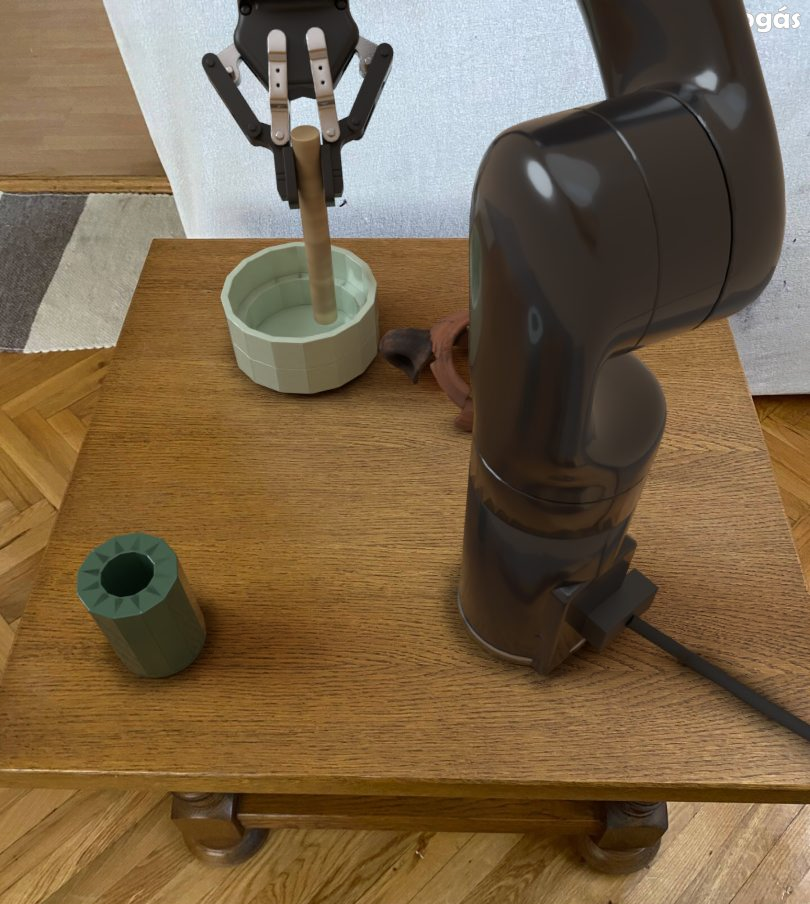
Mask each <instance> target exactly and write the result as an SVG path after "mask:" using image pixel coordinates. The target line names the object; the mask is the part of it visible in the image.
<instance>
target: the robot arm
mask: <svg viewBox="0 0 810 904" xmlns="http://www.w3.org/2000/svg"><path fill="white" fill-rule="evenodd" d="M574 1H575V4H576V6H577V8H578V11H579V12H580V15H581V18H582V20H583V24H584V27H585V29H586V30H585V31H586V33H587V35H588V39H589V41H590V44H591V49H592V51H593V55H594V58H595V61H596V65H597V68H598V72H599V76H600V79H601V84H602V87H603V91H604V96H605V99H604V100H603V99H602V100H599V101H596V102H592V103H589V104H584V105H580V106H576V107H572V108H568V109H564V110H561V111H557V112H553V113H550V114H546V115H542V116H538V117H535V118H531V119H527V120H524V121H521V122H518V123H517V124H514V125H512V126H509V127H506V128H504V130H502V131H501V132H500V133H499V134H497V135H496V136H495V137H494V138H493V139H492V140H491V142H490V143H489V145H488V147H487V148H486V150H485V152H484V154H483V155H482V157H481V159H480V162H479V165H478V167H477V170H476V174H475V177H474V182H473V186H472V191H471V198H470V209H469V216H468V217H469V218H468V219H469V221H468V311H469V326H468V328H469V337H468V348H467V352H468V353H467V364H468V373H469V375H468V376H469V382H470V387H471V397H472V398H473V406H474V418H473V429H472V430H471V441H470V443H471V444H470V452H469V453H470V454H469V464H468V474H467V475H468V476H467V488H466V502H465V512H464V513H465V514H464V525H463V536H462V547H461V549H462V550H461V558H460V559H461V561H460V574H459V575H460V576H459V579H458V580H459V581H458V584H457V593H456V604H457V605H456V606H457V607H456V608H457V611H458V616H459V619H460V621H461V624H462V626H463V628H464V630H465V631H466V633H467V634H468V635H469V637H470V638H471V639H472V641H473V642H474V643H475V644H476V645H478V646H479V647H480V648H481V649H483V650H484V651H485V652H487V653H488V654H490V655H491V656H493V657H495V658H497V659H499V660H502V661H504V662H507V663H511V664H515V665H522V666H529V667H532V668H533V669H535V670H536V671H537V673H539V674H540V675H541V676H548V675H549V674H550V673H552V672H553V671H554V670H555V669H556V668H557V667H559V666H560V664H562V663H563V662H564V661H565V660H566V659H567V658H569V657H570V656H572V655H574V654H575V653H576V652H577V651H578V650H580V649H581V648H582V647H583V646H584V645H585V644H586V643H589V644H590V645H591V646H592V647H593V648H594V649H596V650H597V652H601V651H603V650H604V649H605V648H606V647H607V646H608V645H609V644H610V643H612V642H614V640H615V639H617V637H619V636H620V635H621V634H622V633H623V632H624V631H625V630H627V629H629V630H631V631H632V632H634V633H635V634H636V635H639V636H640V637H642V638H643V639H645V640H647V642H650V643H651V644H653V645H655V646H656V647H658V648H659V649H661V650H663V651H664V652H665V653H666V654H669V655H670V656H672V657H673V658H676V660H678V661H680V662H681V663H683V664H684V665H686V666H688V667H689V668H691V669H692V670H694V671H695V672H697V673H699V674H700V675H701V676H703V677H705V678H706V679H708V680H710V681H712V682H713V683H715V684H717V685H718V686H719V687H722V688H723V689H724V690H726V691H728V692H729V693H730V694H732V695H734V696H735V697H736V698H738V699H739V700H740V701H743V702H744V703H745V704H747V705H748V706H750V707H752V708H753V709H755V710H756V711H758V712H760V713H761V714H763V715H764V716H766V717H767V718H769V719H771V720H773V721H774V722H776V723H777V724H779V725H781V726H782V727H784V728H786V729H787V730H789V731H791V732H793V733H794V734H796V735H798V736H799V737H801V738H802V739H805V740H806V741H808V742H810V723H808V722H806V721H805V720H803V719H801V718H799V717H797V716H796V715H794V714H792V713H791V712H789V711H787V710H786V709H784V708H782V707H781V706H780V705H778V704H776V703H774V702H773V701H771V700H770V699H767V697H764V696H763V695H761V694H760V693H758V692H756V691H754V690H753V689H751V688H750V687H749V686H747V685H746V684H743V683H742V682H740V681H739V680H737V679H735V678H734V677H733V676H731V675H729V674H728V673H726V672H725V671H723V670H721V669H720V668H718V667H716V666H715V665H713V664H712V663H710V662H709V661H707V660H706V659H704V658H703V657H701V656H700V655H698V654H696V653H695V652H693V651H692V650H690V649H688V648H687V647H685V646H684V645H683V644H681V643H680V642H678V641H677V640H675V639H674V638H672V637H671V636H669V635H667V634H666V633H664V632H663V631H661V630H659V629H658V628H656V627H654V626H653V625H652V624H650V623H649V622H647V621H645V620H643V619H642V618H640V617H641V616H642V615H644V613H646V612H647V611H648V610H649V609H650V608H651V606H652V604H653V602H654V600H655V598H656V596H657V594H658V591H659V589H660V588H659V586H658V585H656V583H654V582H653V581H652V580H651V579H650V578H648V577H647V576H646V575H645V574H643V573H642V572H641V571H639V570H638V569H637V568H636V567H634V568H633V569H631V570H630V571H629V569H630V566H631V564H632V561H633V559H634V556H635V554H636V551H637V549H638V542H637V540H636V539H635V538H633V537H632V536H631V535H629V534H628V531H629V529H630V526H631V524H632V520H633V517H634V515H635V511H636V510H637V507H638V505H639V501H640V499H641V496H642V493H643V490H644V489H645V486H646V483H647V481H648V477H649V474H650V472H651V469H652V466H653V464H654V462H655V460H656V457H657V455H658V452H659V449H660V446H661V444H662V441H663V438H664V434H665V431H666V427H667V420H668V405H667V400H666V396H665V393H664V389H663V388H662V386H661V383H660V381H659V380H658V378H657V376H656V375H655V374H654V372H652V370H651V369H650V368H649V366H648V365H647V364H646V363H645V362H644V361H643V360H641V359H640V358H639V357H638V356H637V355H636V354H634V353H633V352H635V351H637V350H640V349H643V348H647V347H649V346H652V345H656V344H659V343H661V342H664V341H667V340H669V339H672V338H673V339H674V338H675V337H678V336H681V335H684V334H687V333H689V332H692V331H695V330H696V331H697V330H698V329H702V328H704V327H707V326H710V325H713V324H715V323H719V322H721V321H724V320H726V319H729V318H731V317H732V316H735V315H737V314H738V313H741V312H742V311H744V310H745V309H747V308H749V307H750V306H751V305H752V304H753V303H754V302H756V301H757V300H758V299H759V298H760V297H761V295H762V294H763V292H764V291H765V289H766V288H767V287H768V286H769V284H770V282H771V281H772V279H773V277H774V274H775V271H776V269H777V266H778V263H779V261H780V258H781V255H782V250H783V245H784V240H785V239H784V238H785V233H786V222H787V220H786V219H787V218H786V216H787V205H786V203H787V202H786V180H785V171H784V161H783V156H782V151H781V145H780V140H779V135H778V129H777V126H776V121H775V116H774V112H773V107H772V104H771V100H770V96H769V92H768V89H767V84H766V80H765V76H764V73H763V69H762V65H761V61H760V57H759V54H758V50H757V47H756V43H755V39H754V36H753V32H752V29H751V28H752V27H751V24H750V21H749V17H748V13H747V10H746V6H745V3H744V0H574ZM236 4H237V14H238V16H237V22H236V25H235V29H234V31H233V34H232V35H233V37H232V41H233V43H231V44H230V45H228V46H227V47H226V48H224V49H223V50H221V51H220V52H218V53H217V54H215V53H213V52H206V53H204V55H203V56H202V58H201V66H202V68H203V71H204V73H205V75H206V77H207V79H208V81H209V83H210V84H211V86H212V88H213V89H214V90H215V92H216V94H217V95H218V96H219V98H220V100H221V101H222V103H223V104H224V106H225V107H226V109H227V110H228V112H229V114H230V115H231V116H232V118H233V120H234V121H235V122H236V125H237V126H238V127H239V129H240V131H241V132H242V134H243V135H244V137H245V138H246V140H247V142H248V143H249V145H251V146H252V147H255V148H259V147H261V148H265V149H267V150H269V151H271V153H272V154H273V164H274V165H273V166H274V173H275V184H276V191H277V193H278V195H279V197H280V200H281V202H287V203H288V207H289V210H292V211H293V210H300V204H299V194H298V185H297V177H296V169H295V161H294V154H293V147H292V144H291V136H290V133H291V131H292V101H295V100H298V99H301V98H306V99H312V100H315V103H316V108H317V113H318V120H319V125H320V130H321V131H320V133H321V140H322V141H321V142H322V143H321V145H320V151H321V162H322V173H323V183H324V194H325V204H326V207H327V208H334V207H336V199H337V198H342V197H343V194H344V190H345V187H344V186H345V185H344V174H343V173H344V172H343V162H342V149H343V147H344V146H345V145H347V144H348V143H351V142H353V141H357V142H358V141H360V140H362V139H363V137H364V136H365V134H366V131H367V128H368V126H369V124H370V121H371V119H372V117H373V114H374V112H375V109H376V107H377V105H378V102H379V100H380V99H381V95H382V93H383V91H384V88H385V86H386V83H387V81H388V78H389V76H390V74H391V72H392V69H393V62H394V53H395V51H394V48H393V46H392V45H391V44H390V43H388V42H381V43H380V44H377V43H375V42H373V41H371V40H369V39H367V38H365V37H363V36H362V35H360V29H359V26H358V24H357V22H356V21H355V19H354V17H353V15H352V12H351V7H350V0H236ZM355 56H356V57H358V60H359V63H358V74H359V76H360V77H361V78H362V79H363V80H362V83H361V84H360V87H359V89H358V92H357V94H356V97H355V99H354V102H353V104H352V107H351V109H350V111H349V114H348V115H347V116H345V117H343V118H340V119H339V118H338V113H337V112H338V111H337V106H336V98H335V90H336V89H337V87H338V85H339V83H340V82H341V80H342V78H343V76H344V74H345V73H346V71H347V69H348V67H349V65H350V63H352V60H353V58H354V57H355ZM242 62H243V63H244V65H245V66H246V67H247V68H248V69H249V71H250V72H251V73H252V74H253V76H254V77H255V78H256V79H257V80H258V82H259V84H261V86H262V87H263V88H264V89H265V91H266V92H267V93H268V94H269V95H268V96H269V97H268V99H269V110H270V124H268V123H266V122H261V121H260V120H259V118H258V116H257V115H256V114H255V112H254V111H253V109H252V108H251V106H250V105H249V103H248V102H247V99H246V98H245V96H244V95H243V94H242V92H241V91H240V88H239V86H240V85H241V83H242V77H243V76H242V74H241V71H240V65H241V63H242Z"/></svg>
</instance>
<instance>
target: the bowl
mask: <svg viewBox="0 0 810 904" xmlns="http://www.w3.org/2000/svg"><path fill="white" fill-rule="evenodd" d="M331 253H332V263H333V273H334V283H335V293H336V304H337V314H338V318H337V320H336V321H335V322H334V323H332V324H330V325H320V324H318V323H317V322H316V321H315V320H314V315H313V307H312V299H311V291H310V284H309V276H308V268H307V260H306V253H305V245H304V241H292V242H287V243H283V244H282V243H281V244H278V245H272V246H268V247H266V248H263V249H261V250H259V251H258V252H255V253H253V254H251V255H250V256H247V257H246V258H244V259H242V260H241V261H240V262H239V263H238V265H236V266H235V267H234V269H232V271H231V272H230V273H228V275H227V276H226V278H225V281H224V284H223V287H222V291H221V294H220V301H221V305H222V309H223V314H224V318H225V321H226V326H227V329H228V330H227V331H228V333H229V338H230V342H231V347H232V350H233V353H234V356H235V360H236V363H237V366H238V369H240V370H241V371H242V372H243V373H244V374H245V375H246V376H247V377H249V379H250V380H252V381H253V382H254V383H255V384H258V385H260V386H263V387H266V388H268V389H271V390H274V391H276V392H279V393H282V394H283V393H285V394H286V393H287V394H306V395H307V394H308V395H310V394H311V395H312V394H317V393H320V392H324V391H328V390H332V389H333V390H334V389H337V388H340V387H342V386H344V385H346V384H347V383H348V382H350V381H352V380H354V379H356V378H357V377H358V376H360V375H362V374H364V372H365V371H366V369H367V368H368V367H369V366H370V364H371V363H372V362H373V361H374V359H375V358H376V357H377V355H378V350H379V343H380V316H379V315H380V314H379V313H380V312H379V296H378V294H379V293H378V282H377V280H376V278H375V276H374V274H373V272H372V269H371V267H370V265H369V264H368V263H367V262H366V261H364V260H363V259H361V258H360V257H359V256H358V255H356V254H354V253H353V252H352V251H351V250H349V249H346V248H343V247H340V246H336V245H333V244H331Z"/></svg>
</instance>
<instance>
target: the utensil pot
mask: <svg viewBox="0 0 810 904" xmlns="http://www.w3.org/2000/svg"><path fill="white" fill-rule="evenodd" d="M76 596H77V597H78V599H79V601H80V602H81V603H82V605H83V606H84V608H85V609H86V611H87V613H88V614H89V615H90V617H91V618H92V620H93V621H94V623H95V624H96V627H98V629H99V630H100V632H101V633H102V635H103V636H104V638H105V639H106V641H107V642H108V644H109V645H110V647H111V648H112V650H113V651H114V653H115V654H116V655H117V657H118V658H119V659H120V661H121V662H122V664H123V665H124V667H125V668H126V669H128V670H129V671H130V672H132V673H133V674H135V675H137V676H141V677H144V678H150V679H158V678H159V679H160V678H165V677H169V676H172V675H175V674H177V673H180V672H182V671H183V670H185V669H186V668H188V667H189V666H190V665H191V664H192V663H194V662H195V661H196V659H197V658H198V657H199V655H200V653H201V652H202V650H203V648H204V646H205V643H206V639H207V626H206V622H205V617H204V615H203V611H202V609H201V607H200V604H199V603H198V600H197V598H196V595H195V593H194V591H193V589H192V586H191V583H190V582H189V579H188V577H187V575H186V573H185V571H184V568H183V566H182V564H181V561H180V560H179V556H178V555H177V553H176V552H175V551H174V550H173V549H172V547H171V546H170V545H169V544H168V543H167V541H166V540H165V539H164V538H162V537H158V536H155V535H152V534H148V533H144V532H140V531H138V532H133V533H127V534H119V535H114V536H112V537H111V538H109V539H108V540H106V541H104V542H102V543H101V544H99V545H98V546H96V547H94V548H92V549H91V550H90V552H89V553H88V555H87V556H86V557H85V559H84V561H83V562H82V563H81V565H80V567H79V568H78V569H77V573H76Z"/></svg>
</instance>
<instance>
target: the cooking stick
mask: <svg viewBox="0 0 810 904" xmlns="http://www.w3.org/2000/svg"><path fill="white" fill-rule="evenodd" d="M290 136H291V147H293V154H294V161H295V169H296V177H297V185H298V194H299V204H300V209H299V213H300V220H301V229H302V235H303V237H302V238H303V242H304V245H305V253H306V260H307V268H308V276H309V284H310V291H311V299H312V307H313V315H314V320H315V321H316V322H317V323H318V324H320V325H330V324H332V323H334V322H335V321H336V320H337V318H338V314H337V304H336V293H335V283H334V273H333V263H332V253H331V245H332V243H331V234H330V224H329V223H330V222H329V213H328V207H326V204H325V194H324V183H323V173H322V162H321V151H320V145H322V143H321V142H322V141H321V131H320V130H319V129H318V127H317V126H314V125H310V124H302V125H298V126H295V127H294V128H293V129H291V133H290Z"/></svg>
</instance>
